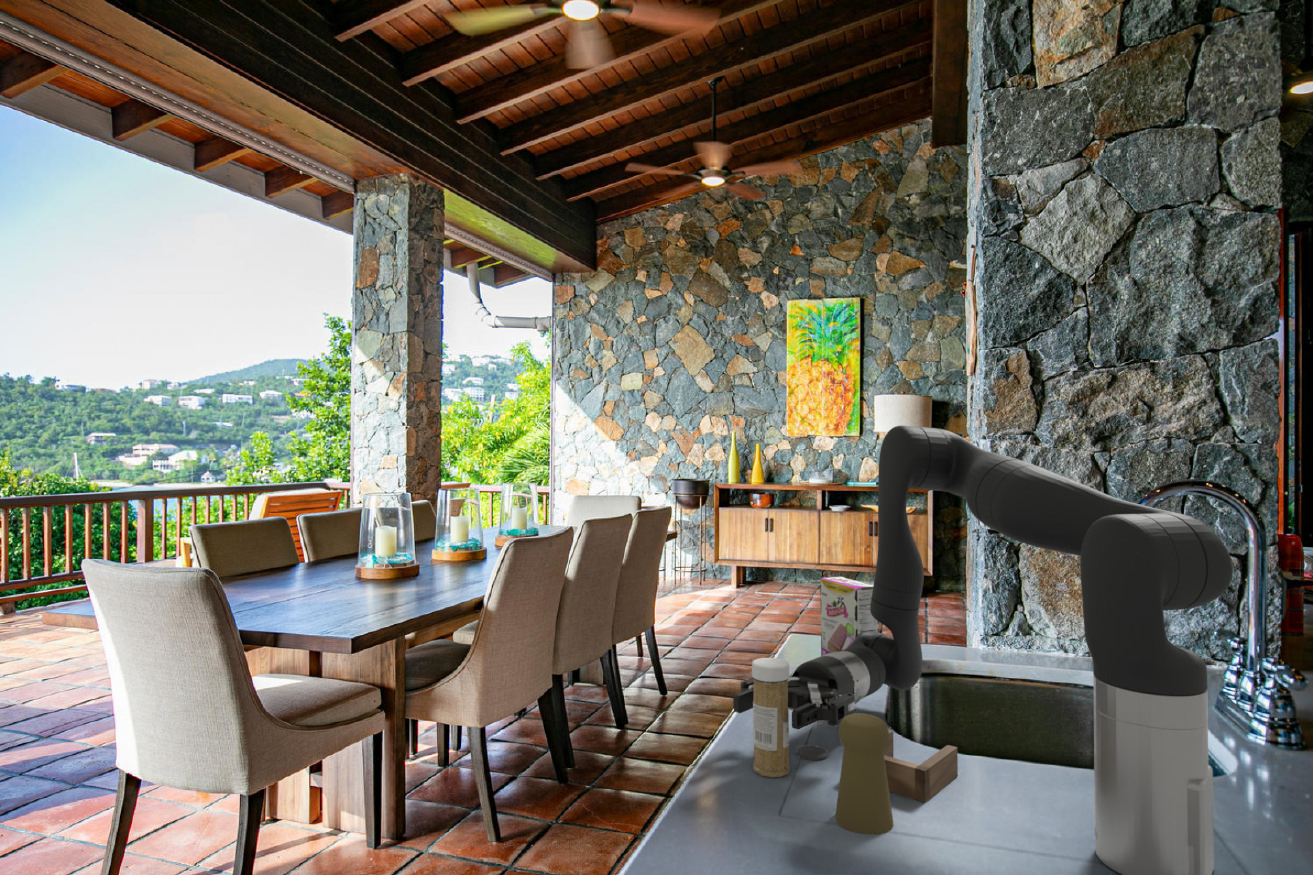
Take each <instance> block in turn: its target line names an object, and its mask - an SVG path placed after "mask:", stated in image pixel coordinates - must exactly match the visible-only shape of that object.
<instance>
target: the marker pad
mask: <svg viewBox="0 0 1313 875" xmlns="http://www.w3.org/2000/svg"><path fill="white" fill-rule="evenodd" d="M795 752H796V756H797V757H798V758H801V759H804V760H806V761H807V760H808V761H822V760H826V759H827V758H828V757H829V752H828V750H827V748H824V747H821V746H818V745H810V744H809V745H808V744H807V745H806V744H805V745H801V746H798V747H797V748H796V751H795Z"/></svg>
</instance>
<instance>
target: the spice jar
mask: <svg viewBox="0 0 1313 875" xmlns="http://www.w3.org/2000/svg"><path fill="white" fill-rule="evenodd" d="M751 676H752V678H753V680H754V685H753V686H754V689H753V693H754V697H753V699H754V700H753V708H752V736H753V738H752V739H753V741H752V743H753V766H752V768H753V771H754V772H755V773H756V774H757V775H760V776H761V777H762V776H763V777H768V778H779V777H780V778H781V777H784V776H786V775H787V774H789V772H790V770H791V769H790V768H791V767H790V761H789V758H790V754H789V745H790V730H789V728H790V727H789V726H790V724H789V720H790V719H789V718H790V715H789V709H788V678H789V677H790V663H789V662H788V661H787V660H785V659H783V658H779V657H778V658H776V657H760V658H756V659H754V660H753V661H752V663H751Z"/></svg>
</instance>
